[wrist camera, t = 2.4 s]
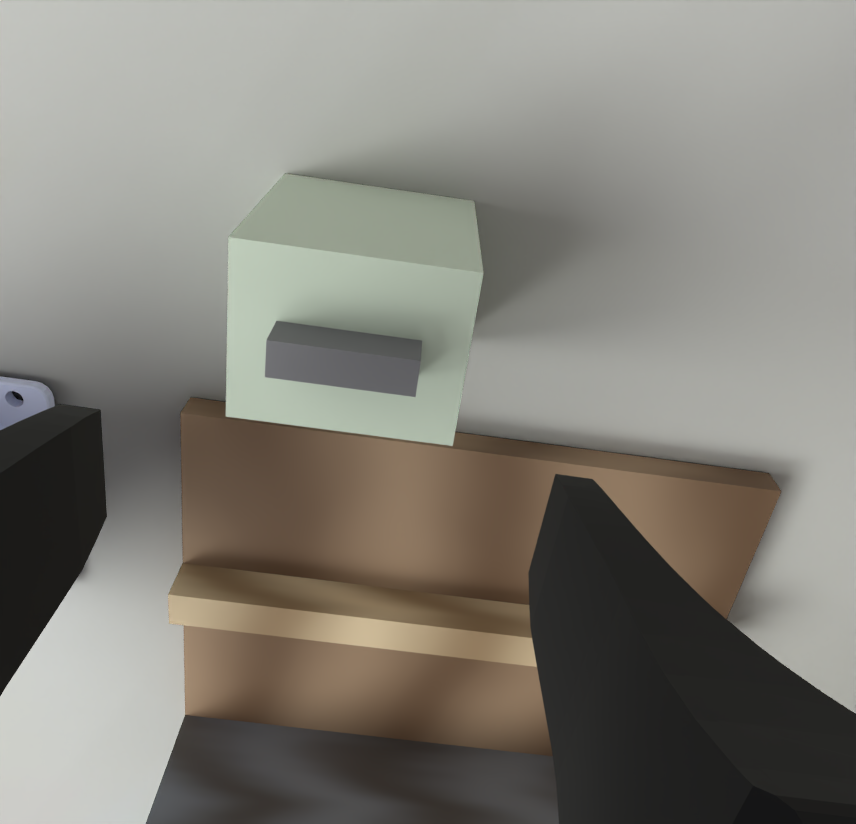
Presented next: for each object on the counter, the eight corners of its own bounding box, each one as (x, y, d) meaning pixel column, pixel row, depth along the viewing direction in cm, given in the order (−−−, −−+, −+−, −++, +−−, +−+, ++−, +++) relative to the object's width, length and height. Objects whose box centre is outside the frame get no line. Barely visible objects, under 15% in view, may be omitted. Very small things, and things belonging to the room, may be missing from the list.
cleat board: (193, 714, 30) (139, 869, 25) (190, 397, 23) (115, 515, 18) (647, 766, 31) (688, 925, 26) (769, 473, 24) (858, 607, 19)
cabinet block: (278, 315, 22) (213, 439, 16) (285, 173, 20) (214, 252, 14) (451, 338, 22) (453, 470, 16) (474, 200, 21) (485, 290, 14)
